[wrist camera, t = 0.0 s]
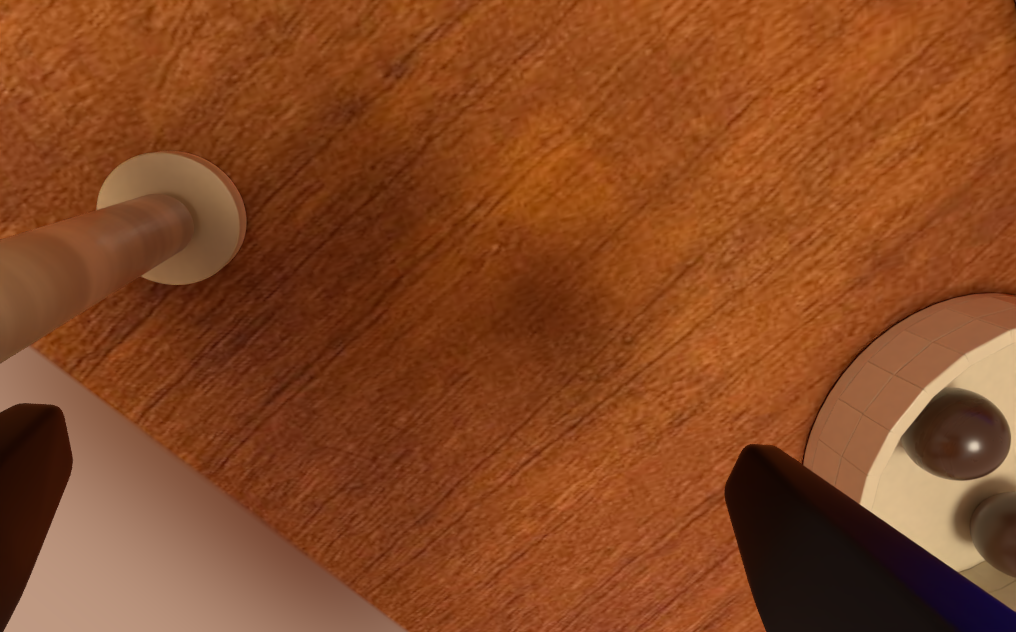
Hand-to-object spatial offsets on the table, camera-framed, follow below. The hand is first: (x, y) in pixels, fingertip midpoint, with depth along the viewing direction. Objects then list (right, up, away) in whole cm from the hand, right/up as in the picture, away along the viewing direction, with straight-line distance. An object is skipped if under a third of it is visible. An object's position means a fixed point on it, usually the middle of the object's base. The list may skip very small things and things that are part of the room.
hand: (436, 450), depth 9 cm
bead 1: (+18, -3, +16) cm, 25 cm away
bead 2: (+23, -8, +19) cm, 31 cm away
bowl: (+21, -4, +20) cm, 29 cm away
